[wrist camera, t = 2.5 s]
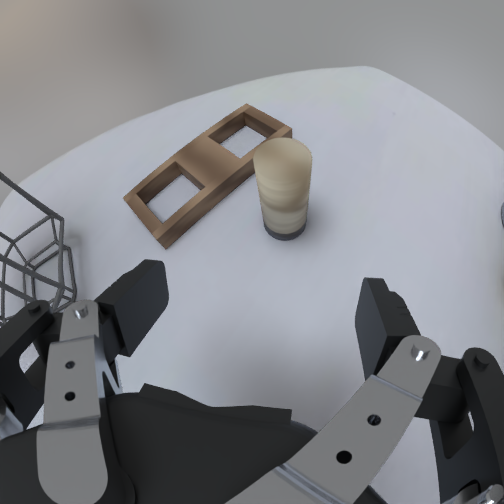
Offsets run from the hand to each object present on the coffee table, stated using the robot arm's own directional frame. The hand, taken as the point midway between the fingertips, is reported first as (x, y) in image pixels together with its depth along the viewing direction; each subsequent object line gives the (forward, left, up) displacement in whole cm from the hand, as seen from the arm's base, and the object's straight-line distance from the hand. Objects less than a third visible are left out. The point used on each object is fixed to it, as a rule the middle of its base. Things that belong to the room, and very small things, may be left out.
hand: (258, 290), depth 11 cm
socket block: (-8, -18, -16) cm, 25 cm away
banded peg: (-9, -7, -16) cm, 19 cm away
